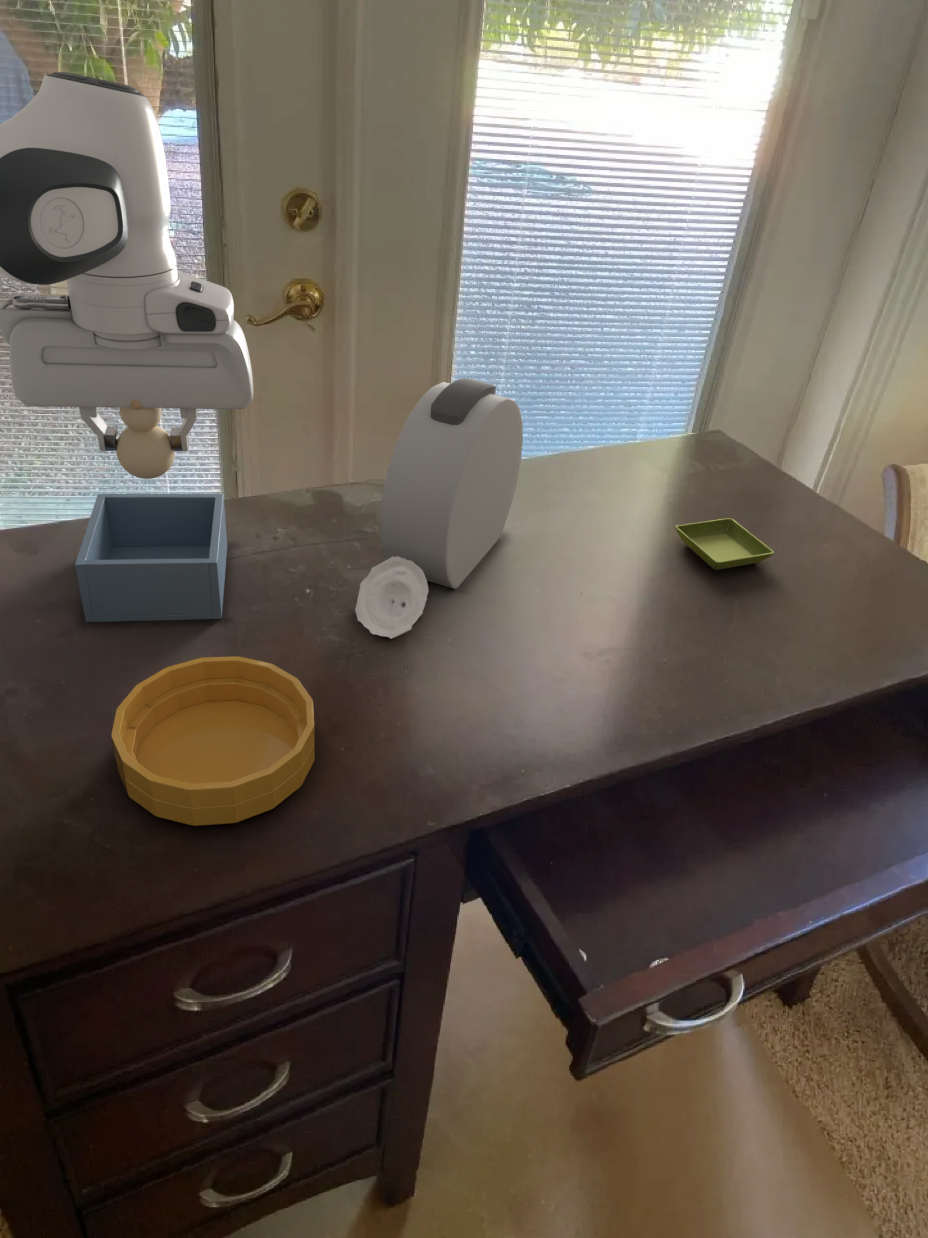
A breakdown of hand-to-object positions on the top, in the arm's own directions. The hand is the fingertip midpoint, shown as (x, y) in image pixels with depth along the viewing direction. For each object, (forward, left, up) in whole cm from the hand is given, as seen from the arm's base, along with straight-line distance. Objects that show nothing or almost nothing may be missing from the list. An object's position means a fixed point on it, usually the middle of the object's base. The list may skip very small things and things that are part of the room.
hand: (146, 448), depth 83 cm
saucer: (+64, +4, -15) cm, 66 cm away
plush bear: (0, 0, -3) cm, 3 cm away
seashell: (+23, -8, -15) cm, 29 cm away
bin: (0, 0, -15) cm, 15 cm away
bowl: (+7, -26, -15) cm, 31 cm away
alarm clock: (+31, +5, -15) cm, 35 cm away
